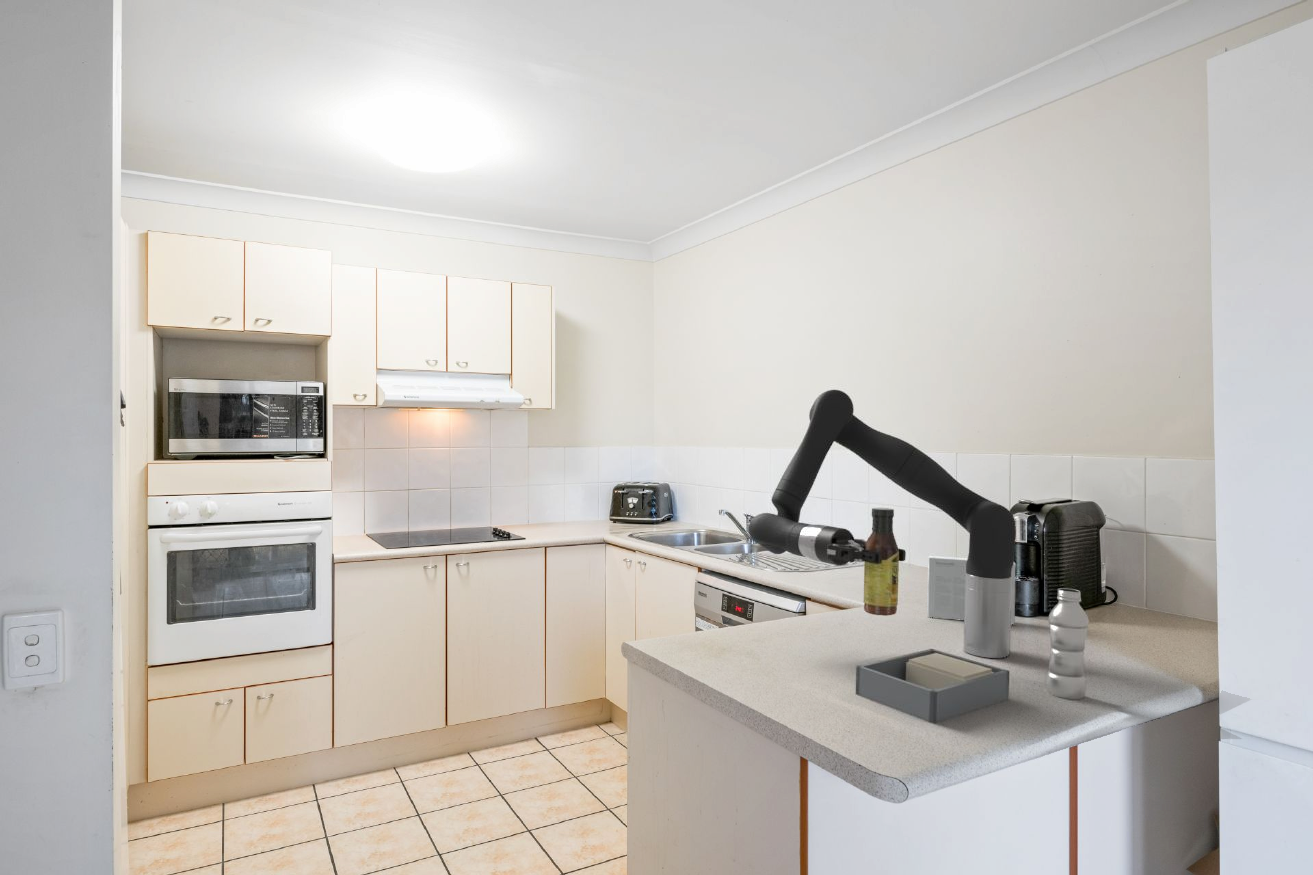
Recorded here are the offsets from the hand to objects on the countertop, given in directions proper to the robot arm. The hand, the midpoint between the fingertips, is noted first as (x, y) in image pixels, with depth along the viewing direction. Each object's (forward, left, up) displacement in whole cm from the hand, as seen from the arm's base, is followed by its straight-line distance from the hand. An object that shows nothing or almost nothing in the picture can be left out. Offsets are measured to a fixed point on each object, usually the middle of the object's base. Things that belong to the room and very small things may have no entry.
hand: (892, 556), depth 144 cm
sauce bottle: (0, -2, -11) cm, 11 cm away
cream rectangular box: (-6, +9, -24) cm, 26 cm away
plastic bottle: (-24, +21, -25) cm, 40 cm away
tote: (-1, +9, -25) cm, 26 cm away
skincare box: (-64, -24, -25) cm, 72 cm away
